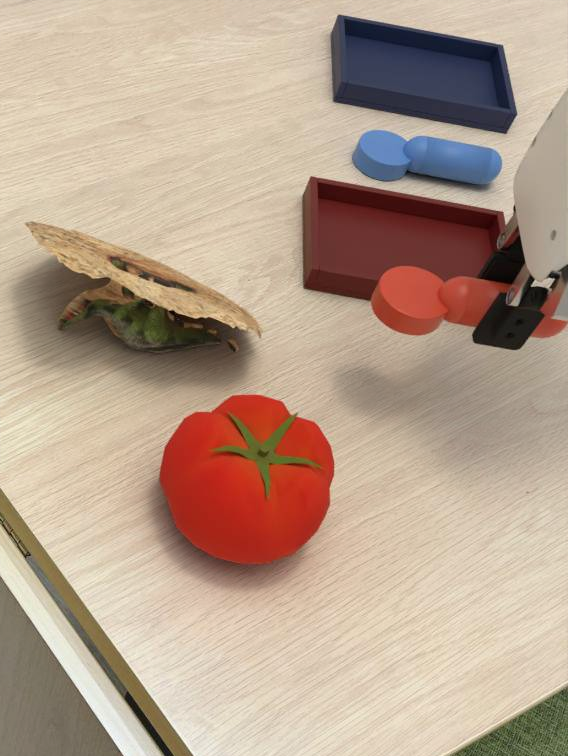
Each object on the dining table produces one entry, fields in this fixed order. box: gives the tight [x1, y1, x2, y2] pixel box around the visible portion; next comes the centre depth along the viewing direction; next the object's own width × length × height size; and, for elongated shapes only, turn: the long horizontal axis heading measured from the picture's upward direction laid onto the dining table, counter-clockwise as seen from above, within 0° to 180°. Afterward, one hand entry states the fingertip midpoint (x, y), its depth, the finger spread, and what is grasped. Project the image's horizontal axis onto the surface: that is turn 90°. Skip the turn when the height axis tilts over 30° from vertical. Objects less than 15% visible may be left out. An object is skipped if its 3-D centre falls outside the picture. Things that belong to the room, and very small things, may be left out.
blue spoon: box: [352, 129, 503, 185], centre depth 86 cm, size 12×5×3 cm, turn 82°
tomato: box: [158, 394, 335, 565], centre depth 62 cm, size 11×11×8 cm
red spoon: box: [370, 266, 568, 339], centre depth 65 cm, size 12×5×3 cm, turn 82°
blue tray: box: [330, 13, 518, 134], centre depth 93 cm, size 16×11×2 cm
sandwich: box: [24, 221, 266, 355], centre depth 71 cm, size 18×14×8 cm
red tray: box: [302, 175, 507, 301], centre depth 80 cm, size 16×11×2 cm
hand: (492, 321), depth 66 cm, fingers closed on red spoon, 3 cm apart
